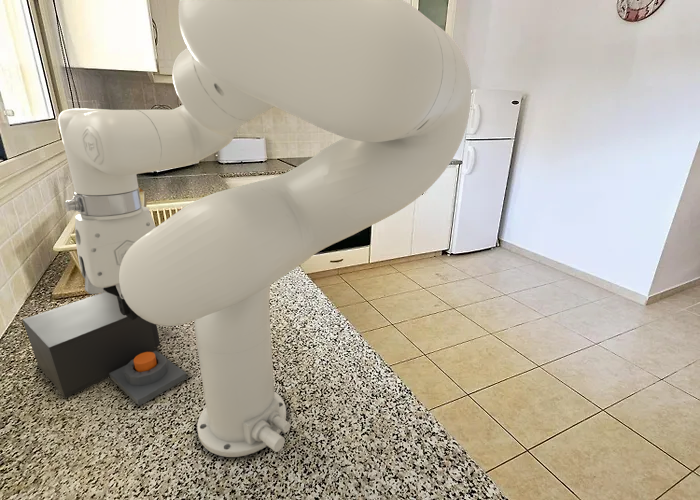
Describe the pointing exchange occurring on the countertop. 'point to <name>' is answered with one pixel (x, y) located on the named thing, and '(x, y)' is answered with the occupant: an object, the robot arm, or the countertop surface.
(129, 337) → the matte grey oblong box
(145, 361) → the button
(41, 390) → the countertop surface
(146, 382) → the control pad
